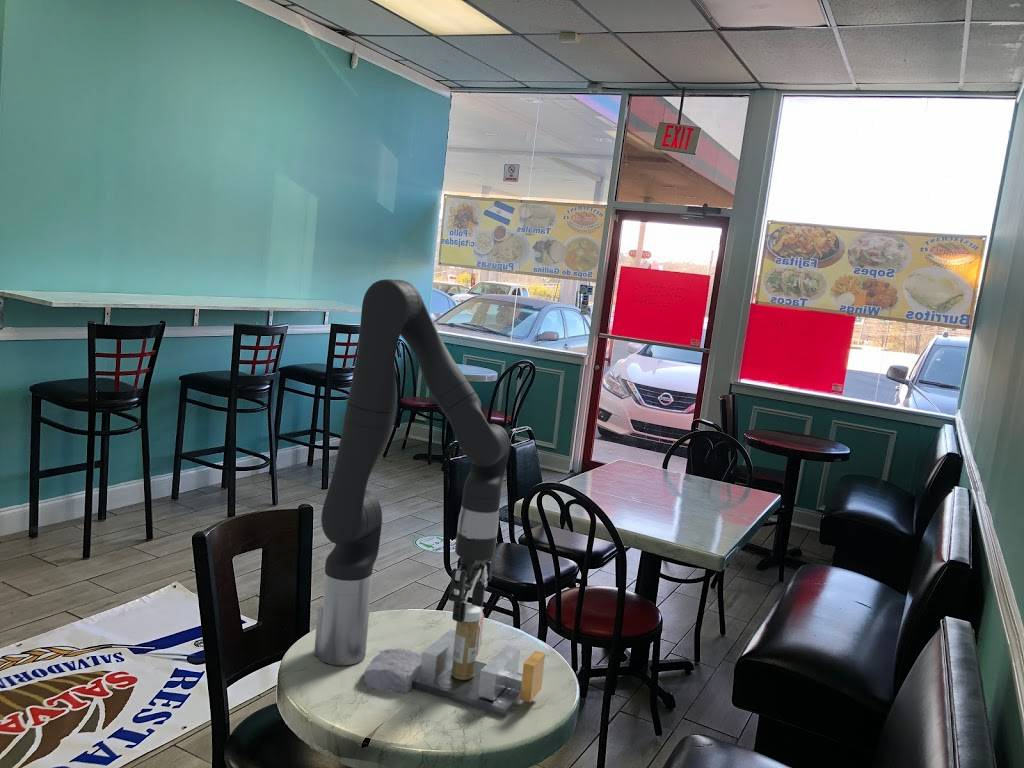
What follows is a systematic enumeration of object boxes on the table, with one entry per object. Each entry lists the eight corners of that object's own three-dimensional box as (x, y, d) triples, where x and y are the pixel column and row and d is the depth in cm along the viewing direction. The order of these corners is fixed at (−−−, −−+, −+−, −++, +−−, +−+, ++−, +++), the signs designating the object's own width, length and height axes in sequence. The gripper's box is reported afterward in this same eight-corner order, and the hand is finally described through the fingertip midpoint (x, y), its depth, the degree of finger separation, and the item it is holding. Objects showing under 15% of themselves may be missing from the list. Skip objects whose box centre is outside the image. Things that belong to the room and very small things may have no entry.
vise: (411, 688, 152) (415, 652, 151) (445, 659, 165) (448, 626, 164) (505, 717, 145) (509, 680, 144) (532, 684, 158) (536, 650, 157)
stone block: (360, 696, 151) (411, 695, 149) (357, 671, 151) (409, 670, 149) (381, 670, 162) (429, 669, 161) (379, 646, 162) (427, 645, 160)
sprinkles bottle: (476, 680, 154) (483, 612, 152) (453, 681, 153) (460, 612, 151) (471, 669, 158) (478, 603, 157) (448, 670, 157) (454, 603, 155)
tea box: (459, 653, 168) (464, 607, 167) (464, 639, 175) (468, 595, 174) (477, 655, 168) (481, 609, 167) (481, 641, 174) (485, 597, 173)
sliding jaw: (478, 696, 148) (481, 659, 147) (503, 669, 159) (506, 635, 158) (524, 709, 144) (528, 672, 144) (546, 682, 155) (550, 647, 155)
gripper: (474, 517, 160) (465, 596, 162) (442, 535, 147) (433, 620, 149) (510, 526, 157) (500, 605, 159) (480, 544, 144) (470, 631, 146)
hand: (467, 612), depth 154 cm, fingers open, 8 cm apart
